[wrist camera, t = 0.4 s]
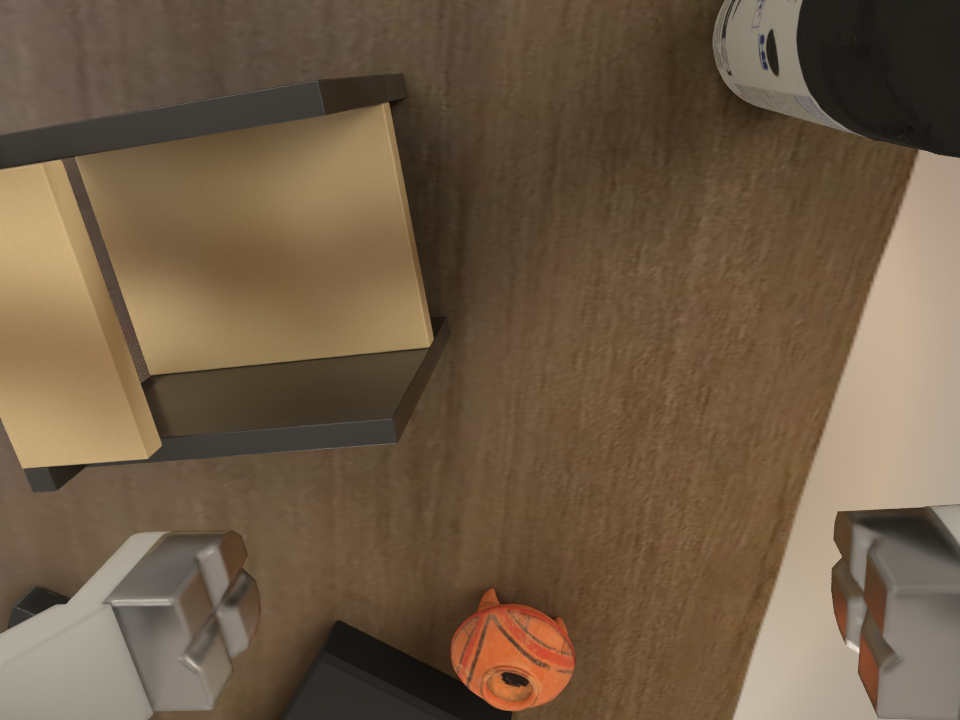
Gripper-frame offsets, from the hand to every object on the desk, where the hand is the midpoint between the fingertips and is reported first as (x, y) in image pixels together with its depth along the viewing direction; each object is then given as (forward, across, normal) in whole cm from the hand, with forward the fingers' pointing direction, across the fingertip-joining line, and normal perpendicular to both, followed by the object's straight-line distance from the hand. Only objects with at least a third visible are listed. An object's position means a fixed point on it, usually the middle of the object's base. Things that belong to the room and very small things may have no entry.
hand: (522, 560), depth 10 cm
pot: (+31, +6, +29) cm, 43 cm away
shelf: (+31, +16, +1) cm, 35 cm away
